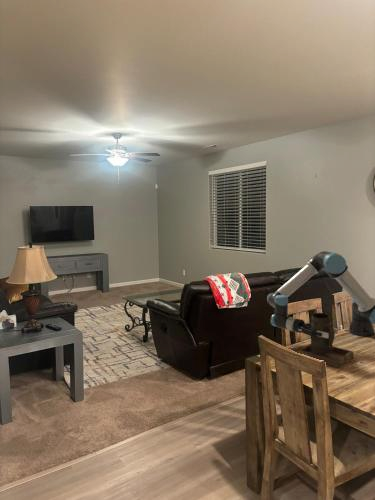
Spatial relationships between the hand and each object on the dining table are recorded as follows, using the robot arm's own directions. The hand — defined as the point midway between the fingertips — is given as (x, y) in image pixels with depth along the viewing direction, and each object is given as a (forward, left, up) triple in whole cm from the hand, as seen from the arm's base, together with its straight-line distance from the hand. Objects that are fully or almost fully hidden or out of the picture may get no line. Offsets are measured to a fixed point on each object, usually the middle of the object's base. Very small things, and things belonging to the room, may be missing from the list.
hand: (333, 333), depth 196 cm
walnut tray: (0, -4, -14) cm, 15 cm away
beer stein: (0, -5, -11) cm, 12 cm away
